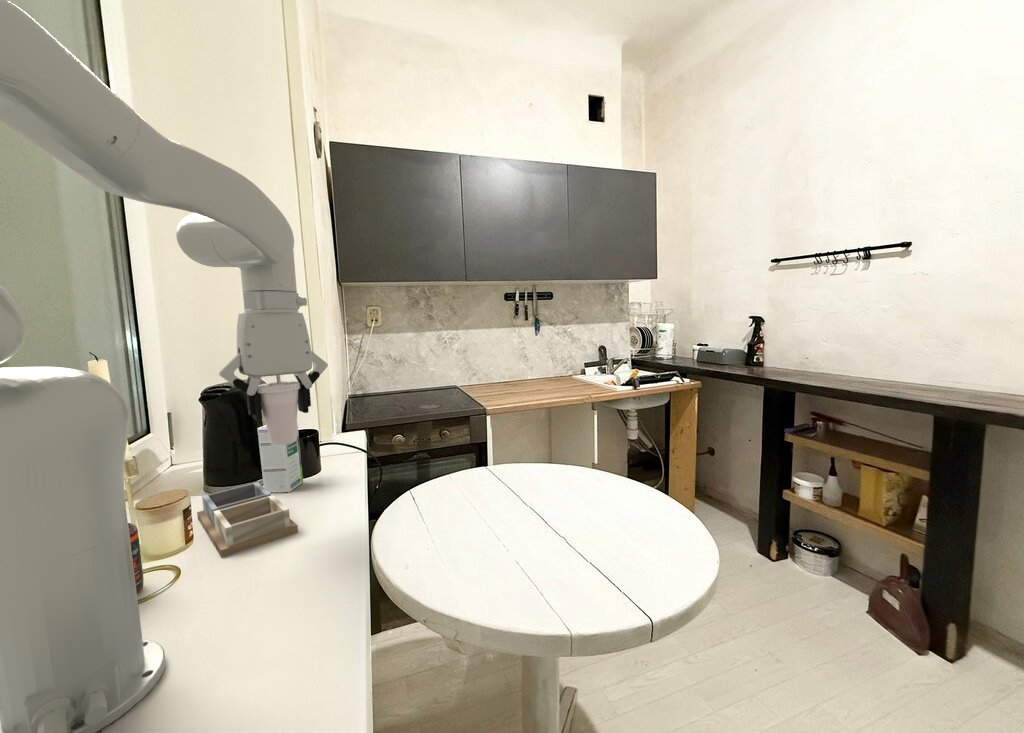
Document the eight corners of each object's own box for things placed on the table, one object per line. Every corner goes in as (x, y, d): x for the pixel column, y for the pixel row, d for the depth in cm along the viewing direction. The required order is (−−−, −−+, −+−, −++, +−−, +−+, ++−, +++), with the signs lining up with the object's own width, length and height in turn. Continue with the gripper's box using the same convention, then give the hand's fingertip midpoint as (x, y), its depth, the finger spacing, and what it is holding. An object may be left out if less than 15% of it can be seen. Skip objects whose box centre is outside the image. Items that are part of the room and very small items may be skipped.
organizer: (297, 531, 73) (295, 508, 72) (221, 557, 65) (218, 531, 65) (263, 500, 87) (261, 480, 86) (197, 518, 79) (195, 496, 79)
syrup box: (290, 493, 90) (284, 425, 89) (262, 493, 90) (256, 426, 89) (303, 483, 96) (298, 419, 95) (277, 483, 96) (272, 420, 95)
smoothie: (308, 435, 74) (301, 355, 73) (300, 445, 68) (293, 357, 66) (267, 439, 72) (259, 357, 71) (255, 449, 66) (246, 360, 65)
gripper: (319, 305, 76) (327, 404, 78) (201, 305, 65) (213, 421, 67) (335, 303, 71) (343, 409, 73) (209, 302, 59) (222, 429, 61)
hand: (281, 414), depth 70 cm, fingers closed on smoothie, 6 cm apart
